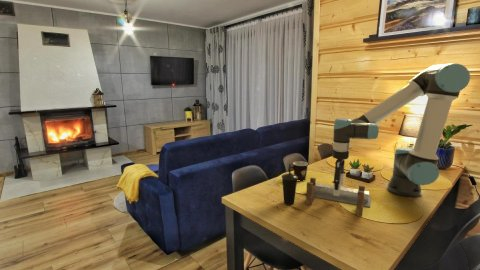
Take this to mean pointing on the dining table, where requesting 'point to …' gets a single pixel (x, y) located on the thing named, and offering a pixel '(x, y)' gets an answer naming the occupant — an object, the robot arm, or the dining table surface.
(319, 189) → the alu bar
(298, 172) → the coffee mug
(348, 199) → the grey flat panel
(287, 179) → the drinking cup
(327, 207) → the dining table surface
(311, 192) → the walnut cradles
